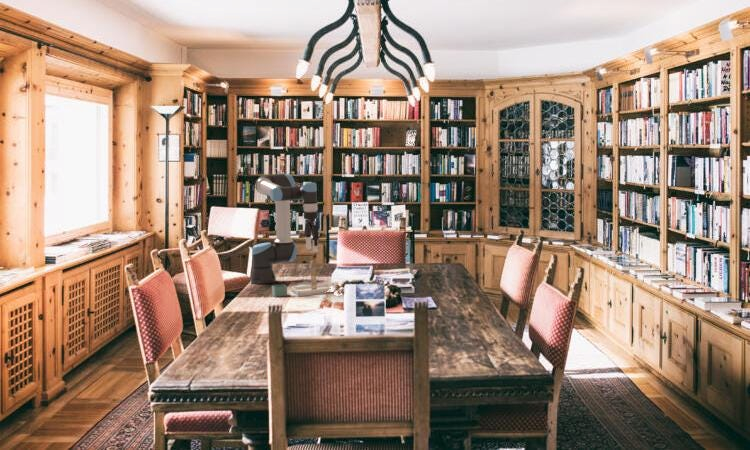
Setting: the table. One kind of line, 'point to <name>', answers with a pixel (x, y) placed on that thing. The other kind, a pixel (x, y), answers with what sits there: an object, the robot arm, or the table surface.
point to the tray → (308, 291)
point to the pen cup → (279, 290)
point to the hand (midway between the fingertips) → (312, 250)
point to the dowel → (313, 275)
